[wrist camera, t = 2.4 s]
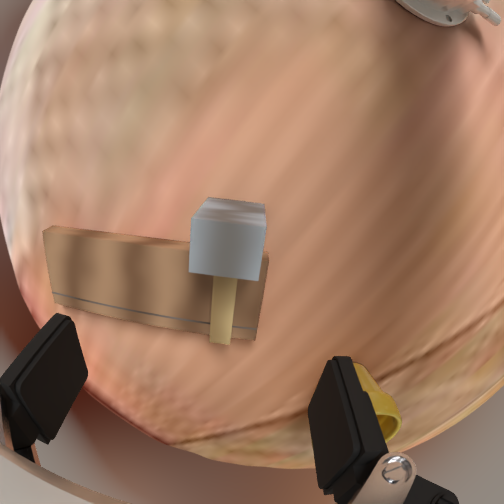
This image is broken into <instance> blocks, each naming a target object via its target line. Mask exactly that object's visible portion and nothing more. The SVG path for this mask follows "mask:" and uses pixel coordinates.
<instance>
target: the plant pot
mask: <svg viewBox="0 0 504 504" xmlns="http://www.w3.org/2000/svg"><path fill="white" fill-rule="evenodd" d="M353 364H354V367H355V370H356V373H357V375H358V378H359V381H360V384H361V386H362V389H363V391H366V392H367V393H368V394H369V396H370V399H371V402H372V404H373V407H374V410H375V413H376V416H377V419H378V422H379V424H380V427H381V430H382V433H383V436H384V439H385V442H386V443H387V442H388V441H389V440H390V439H392V438H393V437H394V436H395V435H396V434H397V432H398V431H399V429H400V427H401V424H402V420H401V416H400V413H399V411H398V408H397V406H396V404H395V402H394V400H393V398H392V397H391V396H390V395H388V394H387V393H384V392H383V391H382V390H381V389H380V387H379V386H378V385H377V383H376V382H375V380H374V379H373V378H372V376H371V375H370V374H369V372H368V371H367V369H366V368H365V367H364V366H363V365H361V364H358V363H353ZM319 381H320V380H319ZM311 439H312V438H311ZM312 447H313V444H312Z"/></svg>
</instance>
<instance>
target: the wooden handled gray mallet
mask: <svg viewBox="0 0 504 504" xmlns="http://www.w3.org/2000/svg"><path fill="white" fill-rule="evenodd" d="M266 228H267V227H266V217H265V206H264V204H261V203H253V202H245V201H237V200H229V199H220V198H211V197H208V198H207V200H206V201H205V202H204V203H203V204H202V206H201V207H200V208H199V209H198V211H197V212H196V213H195V214H194V216H193V217H192V218H191V234H190V253H189V272H191V273H199V274H206V275H214V279H213V293H212V307H211V322H210V339H209V342H212V343H219V344H227V345H230V340H231V332H232V323H233V314H234V306H235V297H236V289H237V280H238V279H245V280H253V281H258V280H259V274H260V267H261V261H262V254H263V248H264V241H265V234H266Z"/></svg>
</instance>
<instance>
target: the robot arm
mask: <svg viewBox="0 0 504 504" xmlns="http://www.w3.org/2000/svg"><path fill="white" fill-rule="evenodd" d="M396 1H397V2H398V3H399V4H400V5H402V6H403V7H404V8H405V9H407V10H408V11H410V12H411V13H413V14H414V15H416V16H418V17H419V18H421V19H423V20H425V21H427V22H430V23H432V24H435V25H439V26H446V27H451V26H455V25H458V24H460V23H462V22H463V21H464V20H465V19H466V18H467V16H468V12H469V11H471V12H472V13H474V14H480V15H481V16H482V17H483V18H484V19H486V20H487V21H488V22H490V23H491V24H492V25H494V26H498V25H499V24H500V21H501V18H500V16H499V15H498V14H497V13H496V12H494V11H493V10H492V9H491V8H489V7H487V6H485V5H484V4H483V3H485V4H487V3H489V1H490V0H396ZM87 377H88V369H87V366H86V363H85V360H84V357H83V353H82V350H81V346H80V343H79V339H78V335H77V331H76V328H75V324H74V322H73V321H72V320H71V318H70V317H69V316H66V315H63V314H59V313H56V314H55V315H53V317H52V318H51V319H50V320H49V321H48V322H47V323H46V324H45V325H44V326H43V327H42V329H41V330H40V331H39V332H38V333H37V334H36V335H35V336H34V338H33V339H32V340H31V341H30V342H29V343H28V345H27V346H26V347H25V348H24V349H23V350H22V352H21V353H20V354H19V355H18V356H17V358H16V359H15V360H14V362H13V363H12V364H11V365H10V366H9V368H8V369H7V370H6V371H5V373H4V374H3V375H2V376H1V378H0V504H131V503H128V502H124V501H121V500H118V499H115V498H112V497H109V496H106V495H103V494H101V493H98V492H95V491H92V490H90V489H87V488H85V487H83V486H80V485H78V484H76V483H73V482H71V481H69V480H66V479H65V478H62V477H60V476H58V475H56V474H54V473H52V472H50V471H48V470H46V469H44V468H43V467H41V465H40V462H39V458H38V455H37V451H36V448H35V443H34V442H35V440H36V439H38V440H40V441H42V442H44V443H46V444H49V442H50V440H53V439H54V438H55V437H56V435H57V433H58V431H59V429H60V427H61V425H62V423H63V421H64V419H65V417H66V415H67V414H68V412H69V410H70V408H71V406H72V404H73V402H74V401H75V399H76V397H77V395H78V393H79V392H80V390H81V388H82V386H83V385H84V383H85V381H86V379H87ZM308 418H309V424H310V431H311V438H312V444H313V451H314V459H315V466H316V473H317V481H318V486H319V488H320V489H323V492H324V495H329V494H334V500H335V502H336V503H335V504H459V502H458V499H457V497H456V496H455V494H454V493H452V492H451V491H449V490H447V489H445V488H443V487H440V486H438V485H436V484H434V483H432V482H430V481H428V480H426V479H424V478H422V477H420V476H418V475H416V466H415V464H414V461H413V460H412V459H411V458H410V457H409V456H407V455H406V454H403V453H400V452H391V453H389V452H388V448H387V445H386V442H385V439H384V436H383V433H382V430H381V427H380V424H379V422H378V419H377V416H376V413H375V410H374V407H373V404H372V402H371V399H370V396H369V394H368V393H367V392H366V391H363V389H362V386H361V384H360V381H359V378H358V375H357V373H356V370H355V367H354V364H353V362H352V359H351V357H349V356H334V357H333V358H332V360H328V361H327V363H326V366H325V368H324V371H323V373H322V376H321V378H320V381H319V383H318V385H317V388H316V390H315V392H314V395H313V397H312V399H311V402H310V404H309V407H308Z"/></svg>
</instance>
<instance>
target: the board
mask: <svg viewBox="0 0 504 504" xmlns="http://www.w3.org/2000/svg"><path fill="white" fill-rule="evenodd" d="M42 233H43V241H44V248H45V255H46V261H47V267H48V273H49V278H50V283H51V288H52V293H53V297H54V302H55V303H57V304H60V305H64V306H68V307H72V308H75V309H79V310H83V311H87V312H91V313H96V314H100V315H104V316H108V317H113V318H117V319H122V320H127V321H132V322H137V323H142V324H147V325H152V326H157V327H163V328H169V329H174V330H180V331H187V332H193V333H200V334H207V335H210V322H211V307H212V293H213V279H214V275H206V274H199V273H191V272H189V253H190V242H182V241H174V240H166V239H158V238H150V237H141V236H133V235H125V234H117V233H109V232H101V231H93V230H84V229H76V228H68V227H60V226H51V227H49V228H47V229H46V230H44V231H42ZM268 263H269V257H268V252H263V254H262V261H261V267H260V274H259V280H258V281H253V280H245V279H238V280H237V289H236V297H235V306H234V314H233V323H232V332H231V338H237V339H246V340H255V339H256V333H257V328H258V322H259V316H260V310H261V305H262V299H263V293H264V287H265V281H266V275H267V269H268Z"/></svg>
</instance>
